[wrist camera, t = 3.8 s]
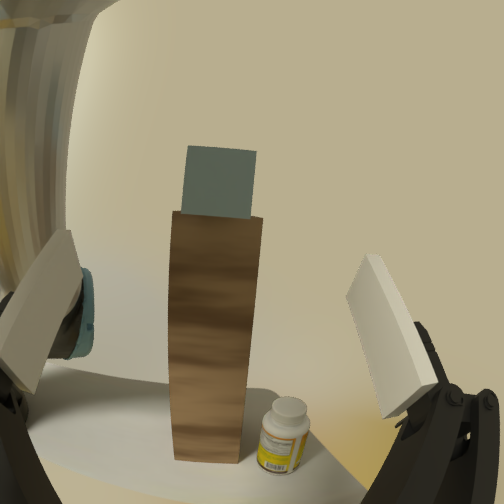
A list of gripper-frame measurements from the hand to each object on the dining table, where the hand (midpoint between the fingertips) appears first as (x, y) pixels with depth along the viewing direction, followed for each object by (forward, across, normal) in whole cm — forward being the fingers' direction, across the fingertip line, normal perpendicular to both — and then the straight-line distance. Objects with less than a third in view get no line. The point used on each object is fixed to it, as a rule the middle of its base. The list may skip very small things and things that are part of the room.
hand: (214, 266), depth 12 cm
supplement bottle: (-2, +9, -31) cm, 33 cm away
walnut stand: (+2, 0, -34) cm, 34 cm away
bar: (+14, 0, -6) cm, 16 cm away
